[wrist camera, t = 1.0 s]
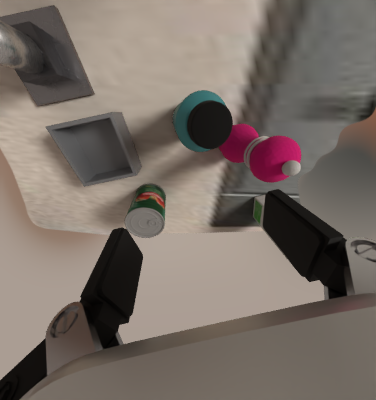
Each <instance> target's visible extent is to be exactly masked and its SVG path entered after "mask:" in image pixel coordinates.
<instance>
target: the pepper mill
mask: <svg viewBox="0 0 376 400" xmlns="http://www.w3.org/2000/svg"><path fill="white" fill-rule="evenodd" d="M219 149H220V151H221V152H222V154H223V156H224V157H225V158H226V159H228V160H229V161H231V162H236V163H241V162H245V164H246V166H247V167H249V168H250V169H251V171H252V173H253V175H254V176H255V177H256V178H258V179H260V180H262V181H264V182H278V181H281V180H284V179H286V178H287V177H289V176H293V175H296V174H297V173H298V172H299V171H300V169H301V166H300V160H301V150H300V147H299V145H298V144H297V143H296V142H295V141H294V140H293V139H291V138H288V137H285V136H273V137H267V136H262V137H259V136H258V134H257V132H256V131H255V129H254V128H252V127H251V126H249V125H246V124H237V125H232V131H231V133H230V136H229V137H228V139H227V140H226V141H225V143H223V144H222V145H221V146H219Z"/></svg>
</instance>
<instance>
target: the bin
mask: <svg viewBox="0 0 376 400" xmlns="http://www.w3.org/2000/svg"><path fill="white" fill-rule="evenodd" d="M46 129H47V130H48V132H49V133H50V135H51V136H52V138H53V139H54V141H55V142H56V144H57V145H58V147H59V149H60V150H61V152H62V153H63V155H64V156H65V158H66V159H67V161H68V162H69V164H70V166H71V167H72V169H73V170H74V172H75V173H76V175H77V176H78V178H79V179H80V181H81V182H82V184H83V186H89V185H94V184H98V183H103V182H108V181H112V180H117V179H122V178H126V177H131V176H136V175H137V174H138V172H139V171H140V169H141V167H142V166H141V163H140V160H139V158H138V155H137V152H136V149H135V147H134V144H133V141H132V139H131V136H130V133H129V130H128V128H127V125H126V122H125V120H124V117H123V114H122V112H111V113H107V114H102V115H97V116H93V117H88V118H83V119H79V120H74V121H69V122H65V123H60V124H56V125H51V126H46Z"/></svg>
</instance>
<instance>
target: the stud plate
mask: <svg viewBox="0 0 376 400" xmlns="http://www.w3.org/2000/svg"><path fill="white" fill-rule="evenodd" d="M0 21H2V22H4V23H6V24H7V25H9V26H10V25H14V24H19V23H23V22H28V21H30V22H31V23H33V24H35V25H36V26H38V27H39V28H41V29H42V30H44V31H45V32H47V33H48V34H50V37H51V39H52V41H53V43H54V45H55V47H56V49H57V51H58V53H59V55H60V57H61V59H62V61H63V63H64V66H65V68H66V70H67V72H68V74H69V76H70V78H71V79H69V80H64V81H60V82H55V83H51V84H46V85H41V86H40V85H35V84H31V83H26V82H23V83H24V85H25V86H26V88H27V90H28V91H29V93H30V94H31V96H32V97H33V99H34V101H35V102H36V104H37V105H38V106H42V105H47V104H51V103H56V102H61V101H65V100H70V99H74V98H79V97H84V96H88V95H93V94H94V91H93V89H92V87H91V84H90V82H89V80H88V77H87V75H86V73H85V70H84V68H83V66H82V64H81V61H80V59H79V57H78V54H77V52H76V50H75V47H74V45H73V43H72V40H71V38H70V36H69V33H68V31H67V29H66V27H65V24H64V22H63V20H62V17H61V15H60V13H59V10H58V8H56V7H55V6H54V5H53V6H48V7H44V8H39V9H35V10H30V11H26V12H21V13H17V14H12V15H7V16H3V17H0ZM44 67H45V65H44Z"/></svg>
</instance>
